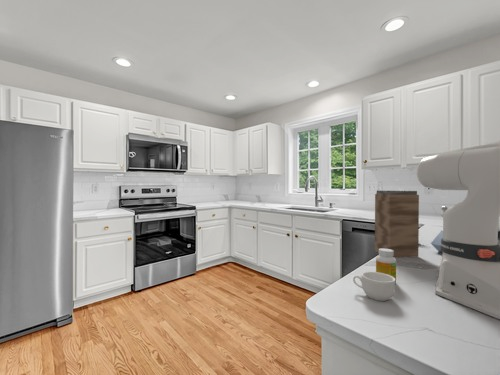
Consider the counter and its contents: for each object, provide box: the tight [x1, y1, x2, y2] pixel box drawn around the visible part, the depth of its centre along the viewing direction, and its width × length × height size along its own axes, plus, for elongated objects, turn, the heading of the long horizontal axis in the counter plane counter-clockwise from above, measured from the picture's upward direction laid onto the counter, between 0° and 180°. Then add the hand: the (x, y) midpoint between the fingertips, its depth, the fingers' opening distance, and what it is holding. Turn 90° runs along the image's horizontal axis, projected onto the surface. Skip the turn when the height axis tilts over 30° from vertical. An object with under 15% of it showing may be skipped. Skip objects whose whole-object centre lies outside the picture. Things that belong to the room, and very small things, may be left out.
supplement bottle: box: [375, 248, 397, 285], centre depth 75 cm, size 5×5×10 cm
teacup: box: [352, 271, 396, 302], centre depth 65 cm, size 10×8×5 cm
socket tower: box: [374, 190, 420, 258], centre depth 108 cm, size 10×14×28 cm
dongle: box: [430, 230, 443, 254], centre depth 111 cm, size 5×22×6 cm
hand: (452, 208), depth 111 cm, fingers open, 8 cm apart
